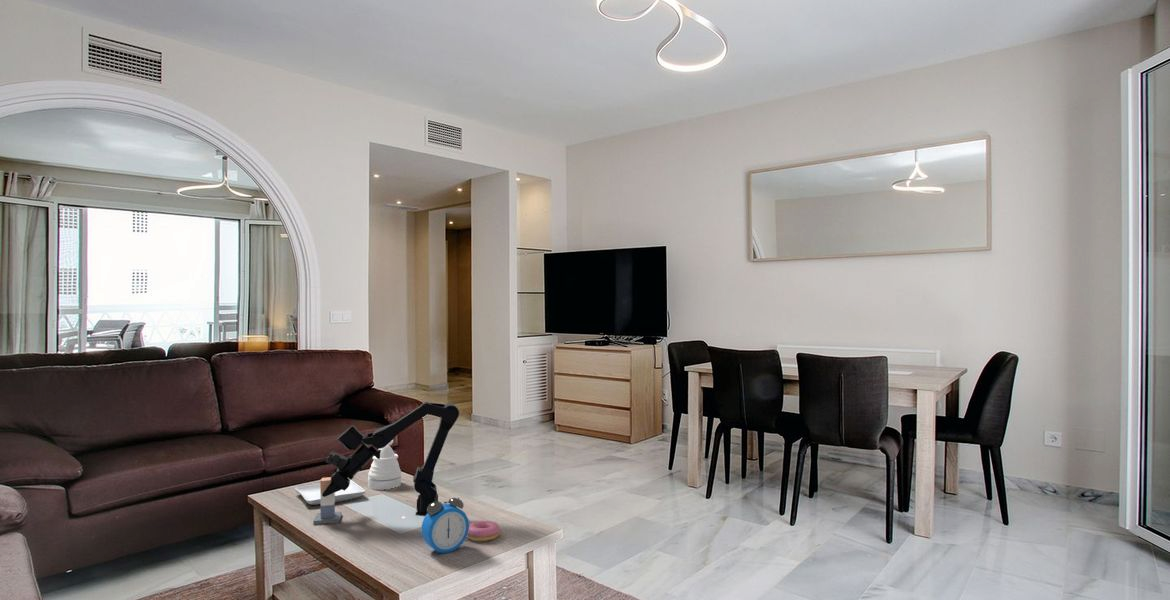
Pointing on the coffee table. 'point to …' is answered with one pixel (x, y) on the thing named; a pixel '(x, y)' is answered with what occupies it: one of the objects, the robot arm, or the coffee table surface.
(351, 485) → the salad plate
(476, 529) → the doughnut
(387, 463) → the honey pot
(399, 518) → the coffee table surface
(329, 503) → the brick stack
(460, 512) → the alarm clock
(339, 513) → the baseplate
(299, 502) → the coffee table surface
